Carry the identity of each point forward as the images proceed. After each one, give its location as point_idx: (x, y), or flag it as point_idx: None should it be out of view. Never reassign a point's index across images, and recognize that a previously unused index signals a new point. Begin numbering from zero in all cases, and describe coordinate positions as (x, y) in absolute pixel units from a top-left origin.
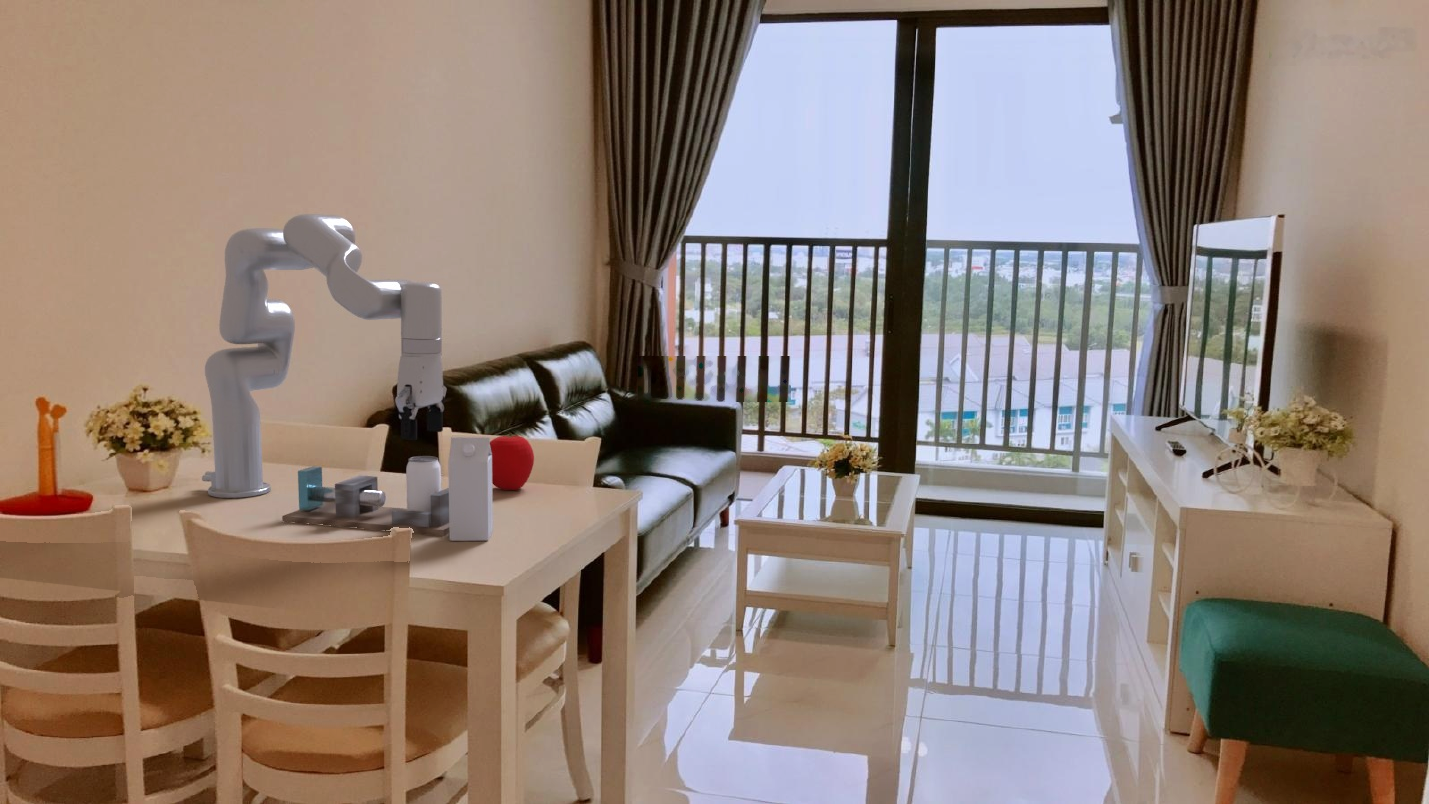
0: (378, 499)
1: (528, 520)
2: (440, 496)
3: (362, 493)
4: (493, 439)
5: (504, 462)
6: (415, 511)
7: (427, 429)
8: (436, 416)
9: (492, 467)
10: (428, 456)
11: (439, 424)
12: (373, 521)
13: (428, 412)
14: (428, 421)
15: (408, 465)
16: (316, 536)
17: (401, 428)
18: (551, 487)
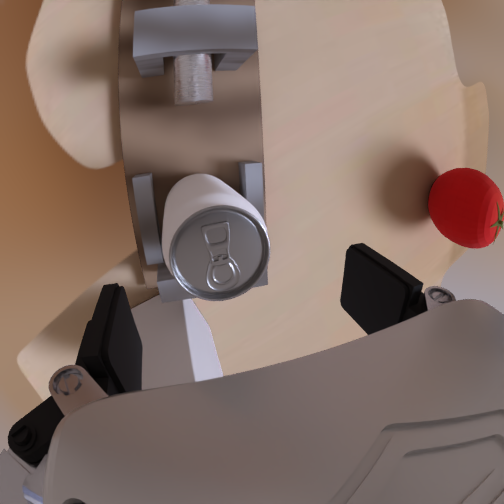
0: (179, 103)
1: (290, 326)
2: (163, 302)
3: (179, 59)
4: (493, 197)
5: (451, 222)
6: (154, 225)
7: (349, 250)
8: (380, 327)
9: (447, 196)
10: (267, 243)
11: (357, 317)
12: (138, 126)
13: (402, 298)
14: (372, 273)
15: (173, 223)
16: (52, 86)
17: (96, 317)
18: (444, 241)
